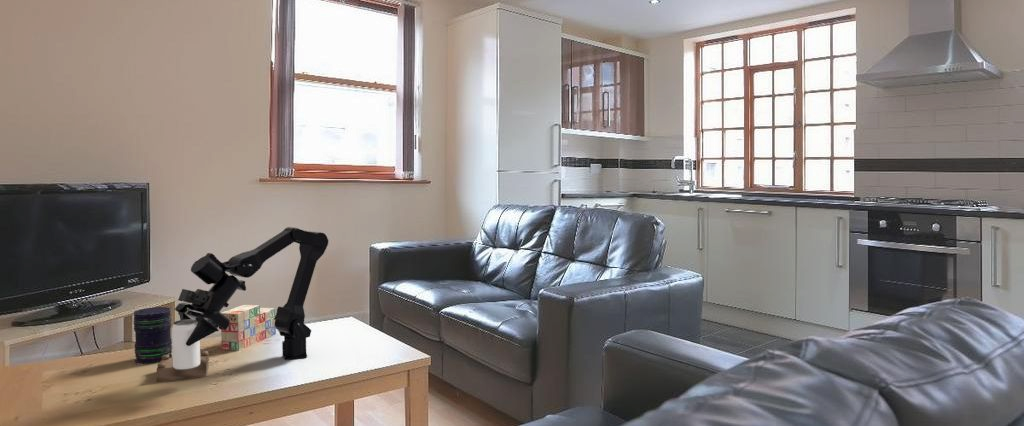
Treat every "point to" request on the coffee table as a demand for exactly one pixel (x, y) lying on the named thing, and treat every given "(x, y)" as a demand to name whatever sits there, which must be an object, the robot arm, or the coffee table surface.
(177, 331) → the can
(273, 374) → the coffee table surface
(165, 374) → the base brick
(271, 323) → the stack of blocks
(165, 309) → the storage jar
